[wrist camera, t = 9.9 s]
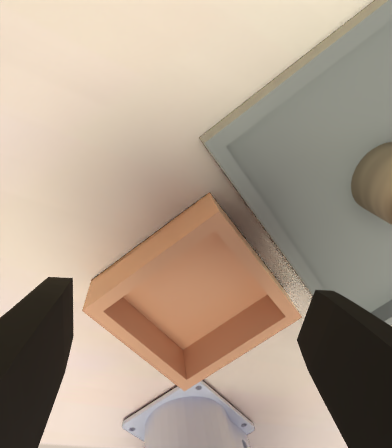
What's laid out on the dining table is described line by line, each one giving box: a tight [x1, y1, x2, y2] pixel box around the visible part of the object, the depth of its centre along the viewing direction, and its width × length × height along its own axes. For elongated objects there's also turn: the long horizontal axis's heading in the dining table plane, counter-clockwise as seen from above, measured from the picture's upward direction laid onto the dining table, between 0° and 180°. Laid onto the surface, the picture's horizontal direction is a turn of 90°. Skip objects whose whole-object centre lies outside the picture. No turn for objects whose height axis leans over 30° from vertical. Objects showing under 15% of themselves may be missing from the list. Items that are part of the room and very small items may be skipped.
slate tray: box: [199, 0, 392, 326], centre depth 19 cm, size 20×14×2 cm
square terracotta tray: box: [82, 192, 302, 391], centre depth 20 cm, size 10×10×3 cm
